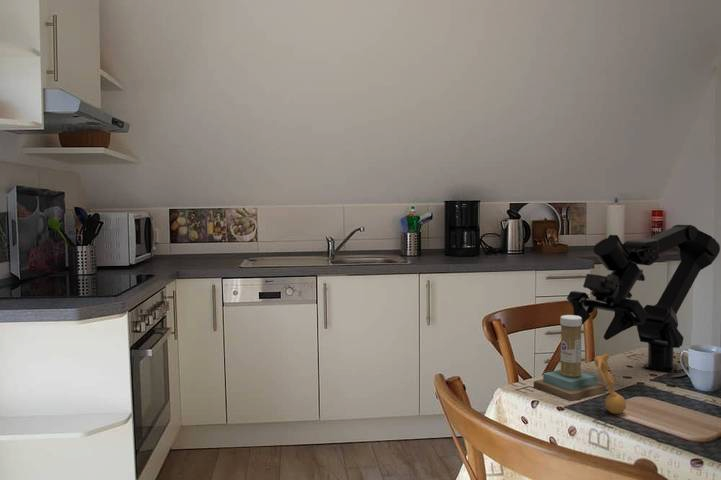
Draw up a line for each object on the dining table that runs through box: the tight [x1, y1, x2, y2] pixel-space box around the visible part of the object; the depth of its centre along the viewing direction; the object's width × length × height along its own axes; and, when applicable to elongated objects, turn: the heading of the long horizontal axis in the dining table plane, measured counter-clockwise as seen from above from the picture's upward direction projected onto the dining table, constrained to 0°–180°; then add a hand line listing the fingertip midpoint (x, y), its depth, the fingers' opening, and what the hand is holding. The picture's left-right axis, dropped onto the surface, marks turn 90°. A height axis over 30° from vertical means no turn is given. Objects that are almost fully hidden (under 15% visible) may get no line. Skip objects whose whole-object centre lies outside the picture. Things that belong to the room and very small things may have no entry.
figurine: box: [593, 353, 627, 415], centre depth 119 cm, size 8×6×12 cm
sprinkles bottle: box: [559, 314, 583, 377], centre depth 133 cm, size 5×5×13 cm
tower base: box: [533, 369, 607, 402], centre depth 134 cm, size 11×11×4 cm
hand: (588, 335), depth 136 cm, fingers open, 9 cm apart
